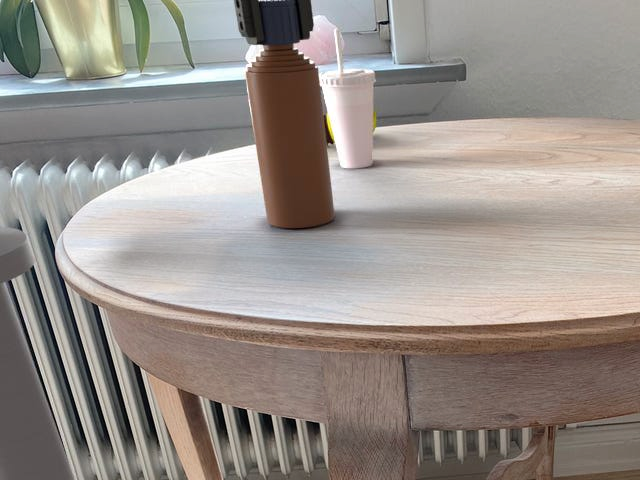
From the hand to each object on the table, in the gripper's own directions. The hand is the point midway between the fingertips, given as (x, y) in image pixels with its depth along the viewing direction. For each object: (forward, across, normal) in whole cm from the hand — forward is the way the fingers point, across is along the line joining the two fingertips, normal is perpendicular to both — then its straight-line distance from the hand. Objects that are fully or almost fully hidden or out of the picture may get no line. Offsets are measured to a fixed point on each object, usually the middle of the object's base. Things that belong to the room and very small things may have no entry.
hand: (279, 40), depth 77 cm
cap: (0, 0, 0) cm, 0 cm away
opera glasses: (+15, +21, +29) cm, 39 cm away
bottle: (+15, 0, 0) cm, 15 cm away
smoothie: (+15, +15, +16) cm, 27 cm away
